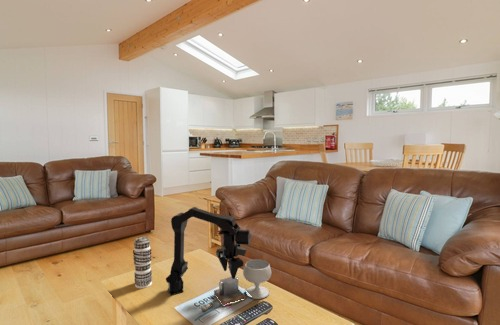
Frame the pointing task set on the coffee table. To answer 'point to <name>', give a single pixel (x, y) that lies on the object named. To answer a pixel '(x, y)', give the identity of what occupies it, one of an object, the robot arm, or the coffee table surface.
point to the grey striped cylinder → (142, 262)
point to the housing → (228, 286)
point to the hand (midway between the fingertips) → (229, 274)
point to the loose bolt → (206, 306)
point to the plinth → (229, 297)
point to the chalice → (257, 277)
